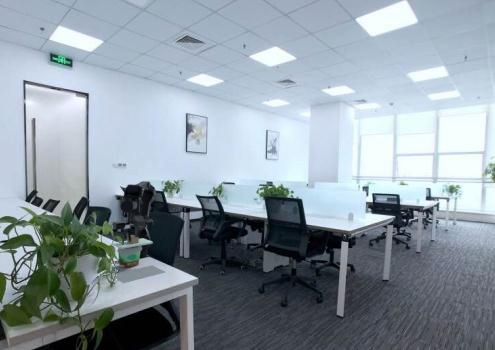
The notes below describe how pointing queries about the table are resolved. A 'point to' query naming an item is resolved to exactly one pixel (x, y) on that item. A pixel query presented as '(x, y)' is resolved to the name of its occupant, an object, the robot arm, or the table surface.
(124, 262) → the food container
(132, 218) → the robot arm
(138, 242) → the lid
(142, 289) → the table surface
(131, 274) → the mat
